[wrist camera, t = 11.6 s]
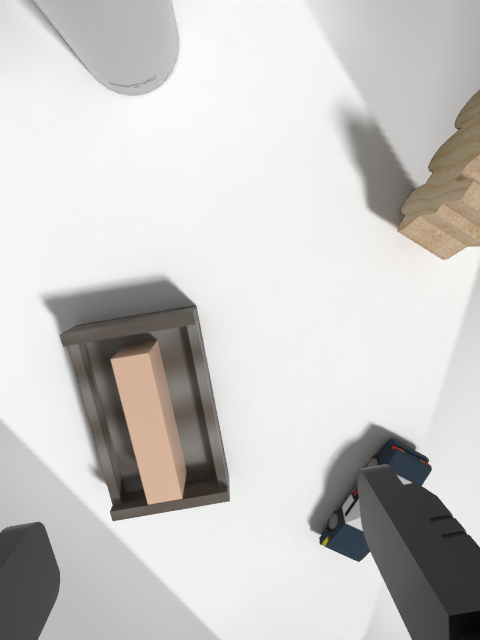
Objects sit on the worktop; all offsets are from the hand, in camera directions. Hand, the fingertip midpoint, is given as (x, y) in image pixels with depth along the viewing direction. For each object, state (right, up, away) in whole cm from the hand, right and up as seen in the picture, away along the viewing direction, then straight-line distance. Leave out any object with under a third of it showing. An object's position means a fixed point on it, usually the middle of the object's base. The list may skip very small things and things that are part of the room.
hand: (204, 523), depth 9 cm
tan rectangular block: (-8, -5, +30) cm, 32 cm away
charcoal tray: (-9, -5, +31) cm, 33 cm away
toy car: (+17, -17, +36) cm, 43 cm away
